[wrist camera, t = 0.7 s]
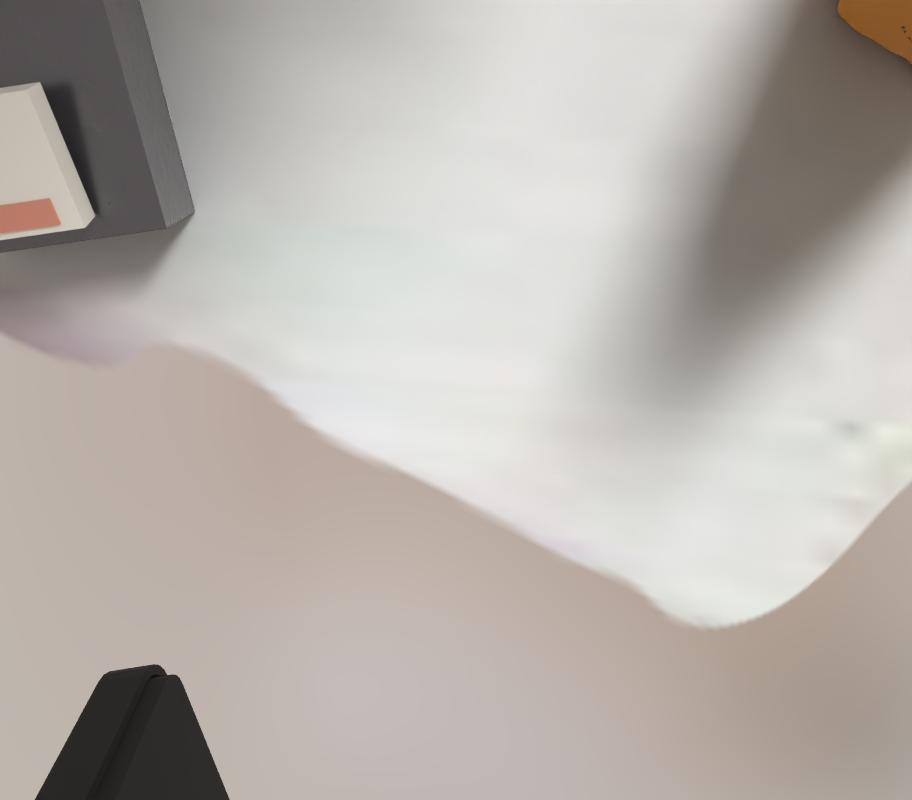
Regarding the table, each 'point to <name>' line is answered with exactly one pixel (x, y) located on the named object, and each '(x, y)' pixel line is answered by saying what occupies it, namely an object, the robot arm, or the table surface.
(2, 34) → the power strip
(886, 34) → the coffee package
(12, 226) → the rocker
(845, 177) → the table surface
